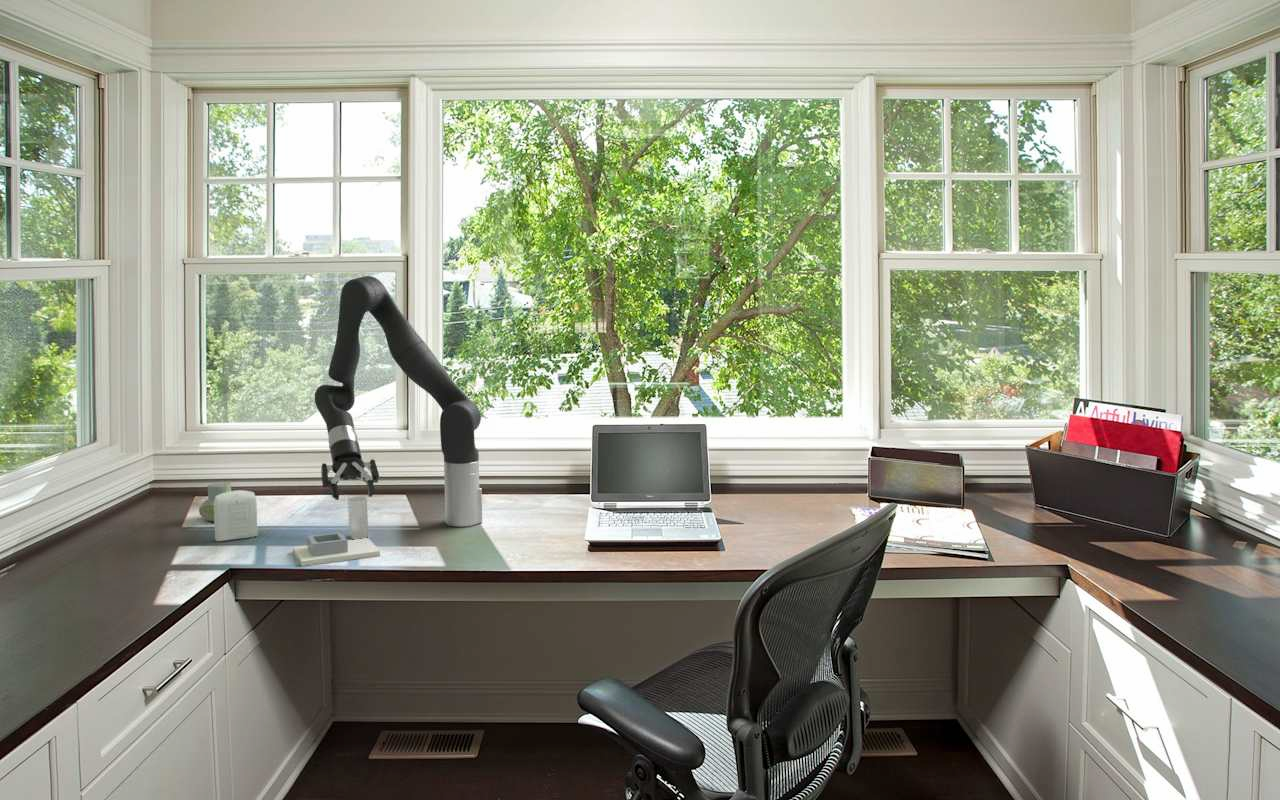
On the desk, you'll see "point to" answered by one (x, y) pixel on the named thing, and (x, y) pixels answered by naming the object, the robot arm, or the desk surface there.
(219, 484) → the air freshener
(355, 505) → the grainy grey brick
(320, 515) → the desk surface
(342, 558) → the docking board
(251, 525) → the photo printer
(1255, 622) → the desk surface
